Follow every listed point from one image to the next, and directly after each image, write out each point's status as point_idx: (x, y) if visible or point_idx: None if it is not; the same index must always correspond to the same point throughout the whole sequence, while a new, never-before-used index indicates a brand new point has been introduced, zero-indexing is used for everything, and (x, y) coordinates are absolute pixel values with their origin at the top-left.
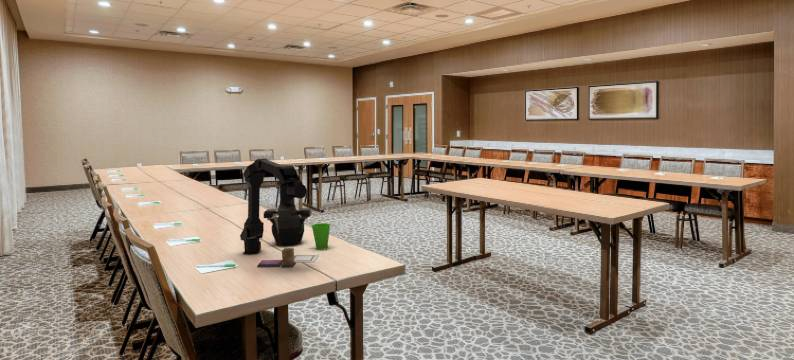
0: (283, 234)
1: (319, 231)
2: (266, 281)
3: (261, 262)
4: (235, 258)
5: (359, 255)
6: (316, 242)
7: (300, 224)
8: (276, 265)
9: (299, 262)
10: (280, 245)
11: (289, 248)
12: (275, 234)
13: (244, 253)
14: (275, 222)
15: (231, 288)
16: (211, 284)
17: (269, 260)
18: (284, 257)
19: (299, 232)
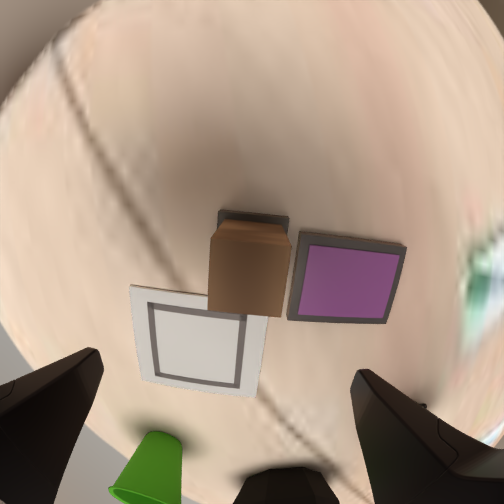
0: (300, 496)
1: (143, 480)
2: (318, 20)
3: (391, 279)
4: (453, 363)
5: (25, 331)
6: (171, 454)
7: (10, 395)
8: (315, 234)
9: (202, 295)
10: (309, 469)
11: (238, 305)
12: (327, 495)
13: (424, 404)
14: (450, 473)
15: (418, 4)
16: (486, 72)
17: (356, 308)
18: (269, 232)
19: (89, 354)
